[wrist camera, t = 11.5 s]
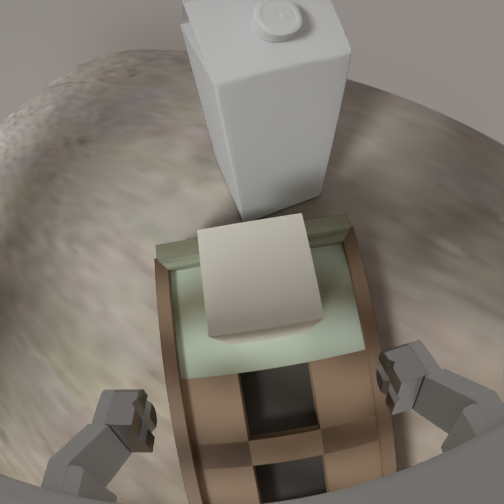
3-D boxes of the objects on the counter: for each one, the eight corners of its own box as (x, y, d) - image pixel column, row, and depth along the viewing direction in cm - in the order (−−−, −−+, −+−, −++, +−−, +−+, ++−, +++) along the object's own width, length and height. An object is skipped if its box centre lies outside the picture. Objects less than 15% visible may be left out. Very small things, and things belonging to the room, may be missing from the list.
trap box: (388, 554, 15) (406, 580, 11) (221, 581, 15) (212, 611, 11) (345, 239, 25) (360, 211, 21) (165, 268, 26) (142, 247, 21)
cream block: (305, 333, 21) (324, 318, 13) (233, 345, 21) (208, 336, 13) (292, 265, 23) (301, 212, 15) (223, 276, 23) (197, 230, 15)
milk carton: (216, 161, 29) (165, -30, 11) (286, 137, 29) (288, -52, 11) (244, 225, 26) (197, 9, 8) (320, 196, 27) (364, -13, 9)
